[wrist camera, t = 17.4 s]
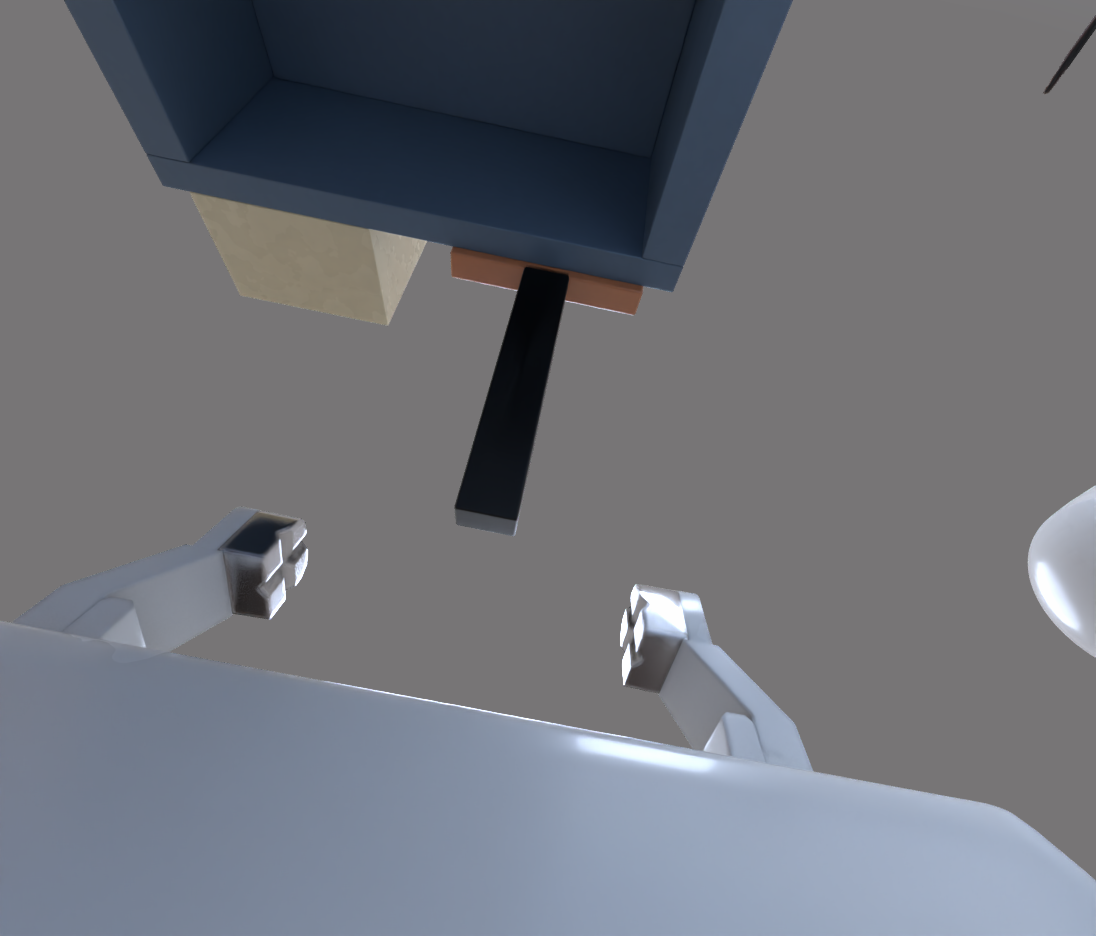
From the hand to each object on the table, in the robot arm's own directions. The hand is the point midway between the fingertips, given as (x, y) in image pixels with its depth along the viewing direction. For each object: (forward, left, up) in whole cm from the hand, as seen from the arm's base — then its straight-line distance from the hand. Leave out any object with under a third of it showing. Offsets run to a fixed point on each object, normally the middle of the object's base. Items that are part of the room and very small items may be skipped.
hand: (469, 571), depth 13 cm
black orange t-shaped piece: (+6, +9, +1) cm, 11 cm away
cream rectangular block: (+18, +7, +1) cm, 19 cm away
